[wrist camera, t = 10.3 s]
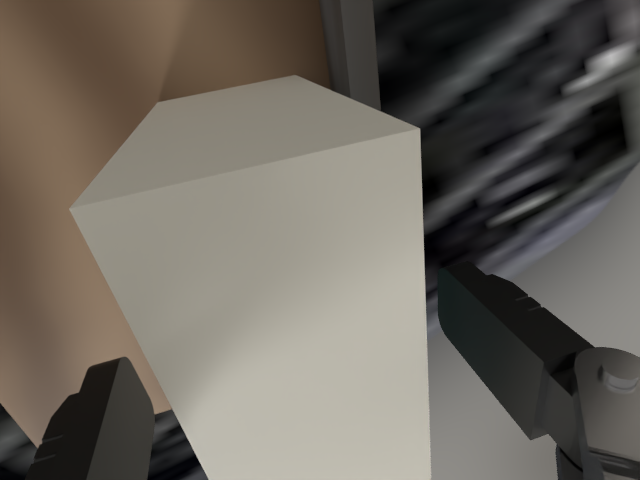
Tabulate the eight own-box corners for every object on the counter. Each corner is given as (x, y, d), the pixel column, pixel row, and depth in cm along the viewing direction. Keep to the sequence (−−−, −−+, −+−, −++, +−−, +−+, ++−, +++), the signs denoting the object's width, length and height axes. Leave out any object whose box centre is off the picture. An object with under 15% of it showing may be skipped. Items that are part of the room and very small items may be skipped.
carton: (232, 319, 19) (251, 561, 10) (157, 102, 14) (69, 208, 5) (337, 289, 19) (439, 492, 11) (301, 73, 15) (434, 125, 6)
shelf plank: (49, 423, 21) (16, 501, 17) (-268, 6, 11) (-476, -7, 8) (374, 327, 23) (403, 378, 20) (329, -77, 14) (368, -115, 10)
